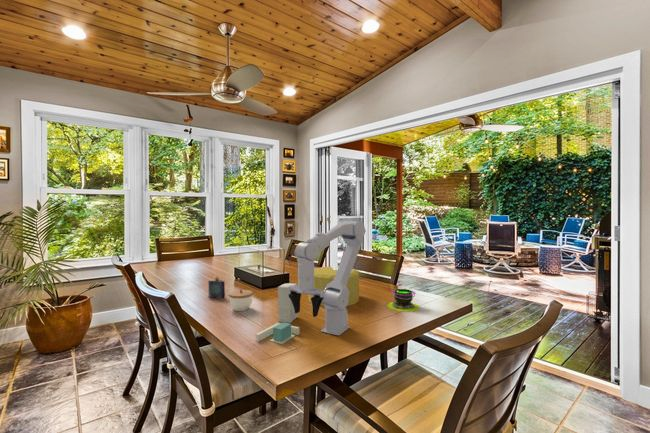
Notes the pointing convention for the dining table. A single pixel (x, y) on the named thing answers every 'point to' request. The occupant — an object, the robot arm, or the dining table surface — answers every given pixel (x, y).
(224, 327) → the dining table surface
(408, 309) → the toy cauldron
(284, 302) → the skincare box
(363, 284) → the dining table surface
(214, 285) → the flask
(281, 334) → the teal brick
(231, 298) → the lidded jar
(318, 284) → the cheese
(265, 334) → the corner walls
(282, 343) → the pad
